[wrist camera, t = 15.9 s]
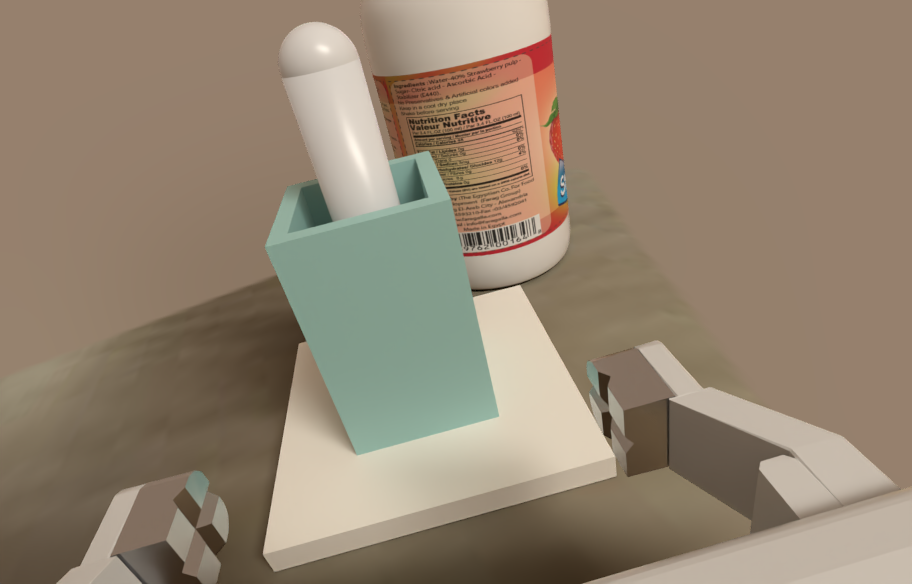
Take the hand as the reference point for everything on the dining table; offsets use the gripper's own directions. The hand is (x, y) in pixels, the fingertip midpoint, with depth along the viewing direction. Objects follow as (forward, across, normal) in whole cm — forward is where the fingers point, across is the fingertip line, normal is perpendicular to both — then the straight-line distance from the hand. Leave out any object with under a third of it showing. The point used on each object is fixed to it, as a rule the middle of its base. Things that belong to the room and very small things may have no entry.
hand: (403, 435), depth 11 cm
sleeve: (+9, 0, +7) cm, 12 cm away
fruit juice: (+21, -6, +8) cm, 24 cm away
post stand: (+9, 0, +8) cm, 12 cm away
